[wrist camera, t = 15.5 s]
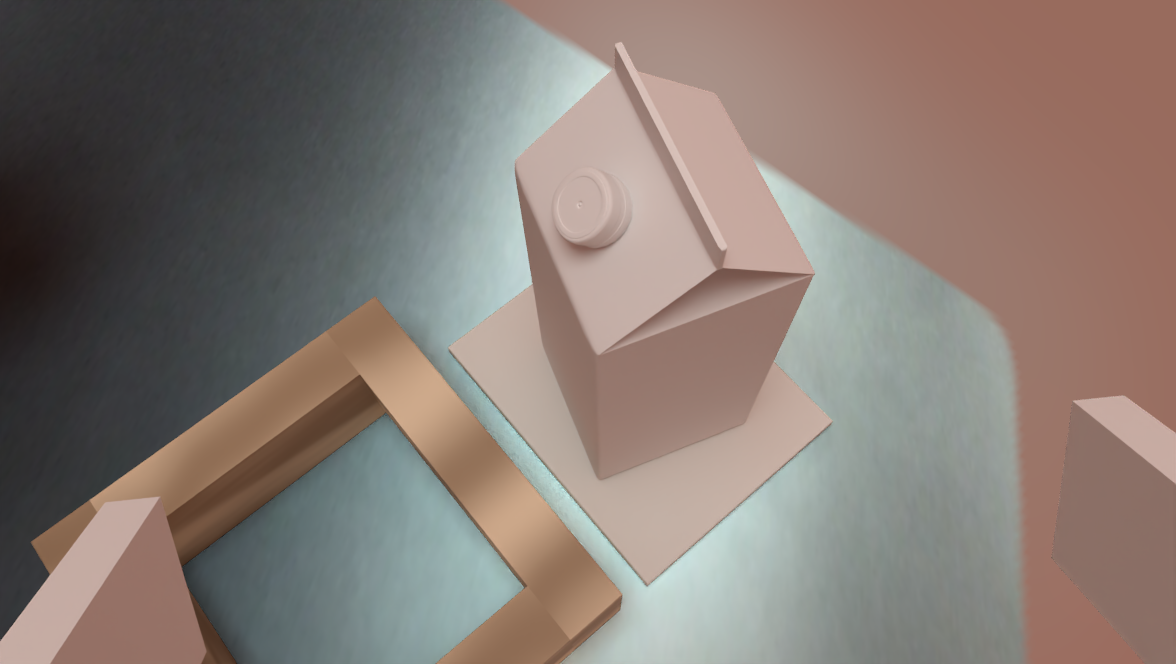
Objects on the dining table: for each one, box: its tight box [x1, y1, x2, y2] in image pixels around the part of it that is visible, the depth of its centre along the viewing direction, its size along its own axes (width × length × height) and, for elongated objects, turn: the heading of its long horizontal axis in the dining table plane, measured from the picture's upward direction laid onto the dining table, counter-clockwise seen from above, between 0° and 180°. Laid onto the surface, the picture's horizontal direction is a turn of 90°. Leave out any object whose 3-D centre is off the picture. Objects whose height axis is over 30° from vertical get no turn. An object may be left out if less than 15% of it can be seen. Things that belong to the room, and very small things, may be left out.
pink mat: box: [448, 284, 833, 586], centre depth 43 cm, size 14×11×1 cm
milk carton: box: [515, 42, 815, 480], centre depth 34 cm, size 7×7×19 cm
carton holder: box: [31, 297, 622, 664], centre depth 37 cm, size 16×16×5 cm
